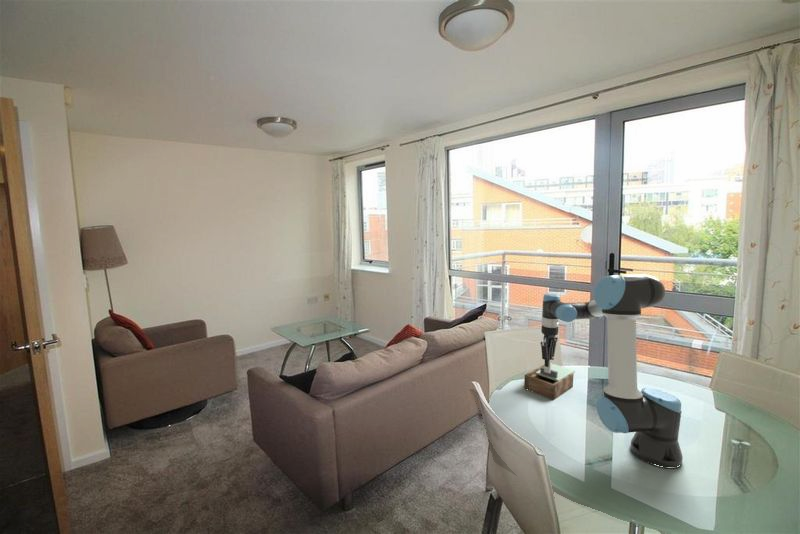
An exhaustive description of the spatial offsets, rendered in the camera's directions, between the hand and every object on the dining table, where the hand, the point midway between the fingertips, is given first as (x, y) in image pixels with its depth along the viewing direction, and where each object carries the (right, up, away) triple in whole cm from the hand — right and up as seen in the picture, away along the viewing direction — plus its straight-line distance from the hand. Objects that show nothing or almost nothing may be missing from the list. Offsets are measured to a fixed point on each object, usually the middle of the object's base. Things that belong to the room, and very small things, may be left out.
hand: (547, 372), depth 177 cm
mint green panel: (+6, -2, +6) cm, 9 cm away
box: (+1, -8, +2) cm, 9 cm away
